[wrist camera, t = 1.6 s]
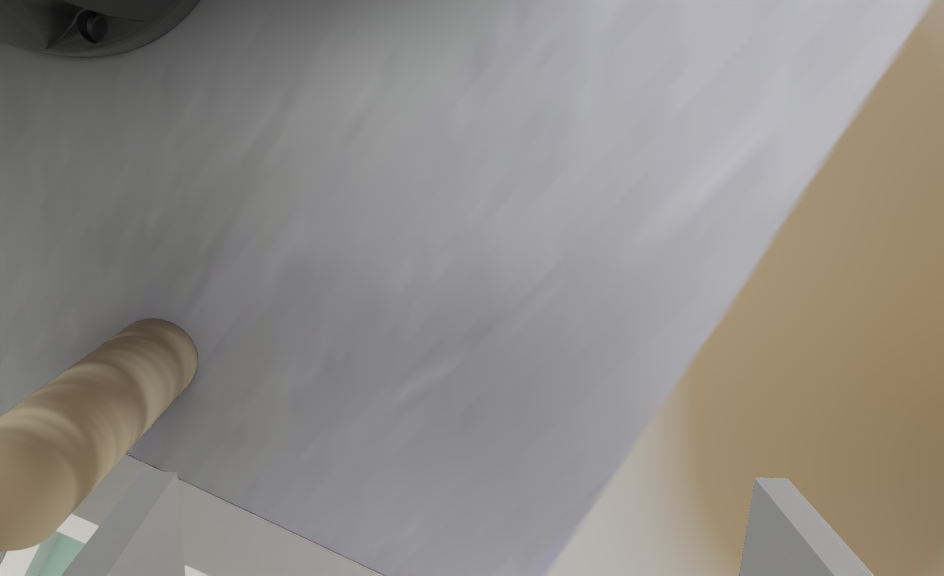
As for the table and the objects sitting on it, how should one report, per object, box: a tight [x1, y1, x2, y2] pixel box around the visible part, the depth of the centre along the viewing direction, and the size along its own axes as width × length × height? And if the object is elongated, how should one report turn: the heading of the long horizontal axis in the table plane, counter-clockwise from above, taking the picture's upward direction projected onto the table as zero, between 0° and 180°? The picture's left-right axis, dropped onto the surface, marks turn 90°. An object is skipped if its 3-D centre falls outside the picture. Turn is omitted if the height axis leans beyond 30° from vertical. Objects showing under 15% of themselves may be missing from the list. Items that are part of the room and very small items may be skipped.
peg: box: [0, 319, 198, 551], centre depth 32 cm, size 4×4×14 cm
